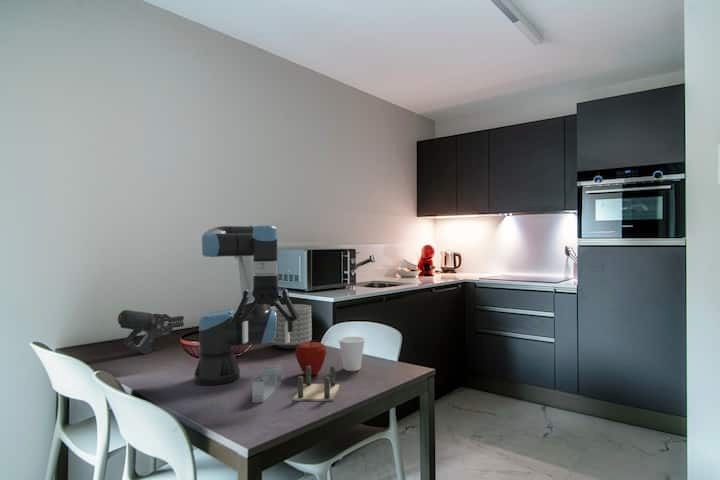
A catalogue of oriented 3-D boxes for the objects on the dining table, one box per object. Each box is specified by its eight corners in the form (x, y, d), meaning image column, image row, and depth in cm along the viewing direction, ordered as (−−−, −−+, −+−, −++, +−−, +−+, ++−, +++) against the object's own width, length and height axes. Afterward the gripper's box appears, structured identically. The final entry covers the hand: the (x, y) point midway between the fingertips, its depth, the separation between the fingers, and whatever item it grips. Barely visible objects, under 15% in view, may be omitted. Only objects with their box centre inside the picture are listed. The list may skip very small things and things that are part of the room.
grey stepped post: (264, 402, 121) (264, 382, 121) (251, 402, 121) (251, 381, 122) (281, 383, 138) (281, 365, 138) (269, 383, 138) (269, 365, 138)
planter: (317, 342, 196) (317, 304, 196) (303, 353, 177) (302, 310, 178) (280, 341, 200) (279, 303, 200) (262, 351, 182) (261, 309, 182)
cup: (362, 373, 147) (362, 342, 147) (335, 372, 149) (335, 341, 149) (367, 365, 157) (367, 336, 157) (342, 364, 159) (342, 336, 159)
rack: (293, 400, 122) (292, 378, 122) (303, 385, 135) (303, 365, 135) (333, 401, 121) (332, 378, 121) (339, 386, 134) (339, 365, 134)
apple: (292, 372, 150) (292, 338, 150) (320, 368, 154) (320, 335, 155) (300, 381, 140) (300, 345, 140) (330, 376, 144) (330, 342, 144)
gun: (115, 357, 174) (114, 310, 174) (178, 344, 197) (178, 302, 197) (122, 360, 170) (122, 311, 170) (186, 346, 193) (186, 303, 193)
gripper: (222, 276, 127) (223, 345, 127) (301, 275, 125) (302, 345, 124) (232, 274, 135) (232, 339, 134) (307, 273, 132) (308, 340, 132)
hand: (266, 342), depth 129 cm, fingers open, 13 cm apart
